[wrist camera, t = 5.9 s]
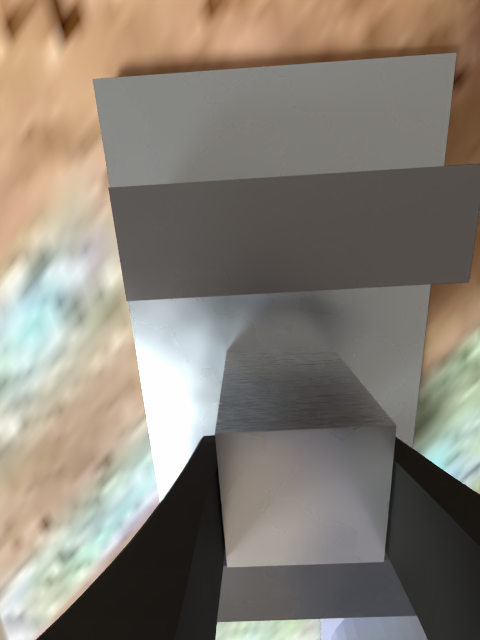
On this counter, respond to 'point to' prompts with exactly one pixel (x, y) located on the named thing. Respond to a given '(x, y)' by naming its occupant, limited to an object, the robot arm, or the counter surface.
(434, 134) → the base
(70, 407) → the counter surface
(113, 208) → the block
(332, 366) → the aluminium block
